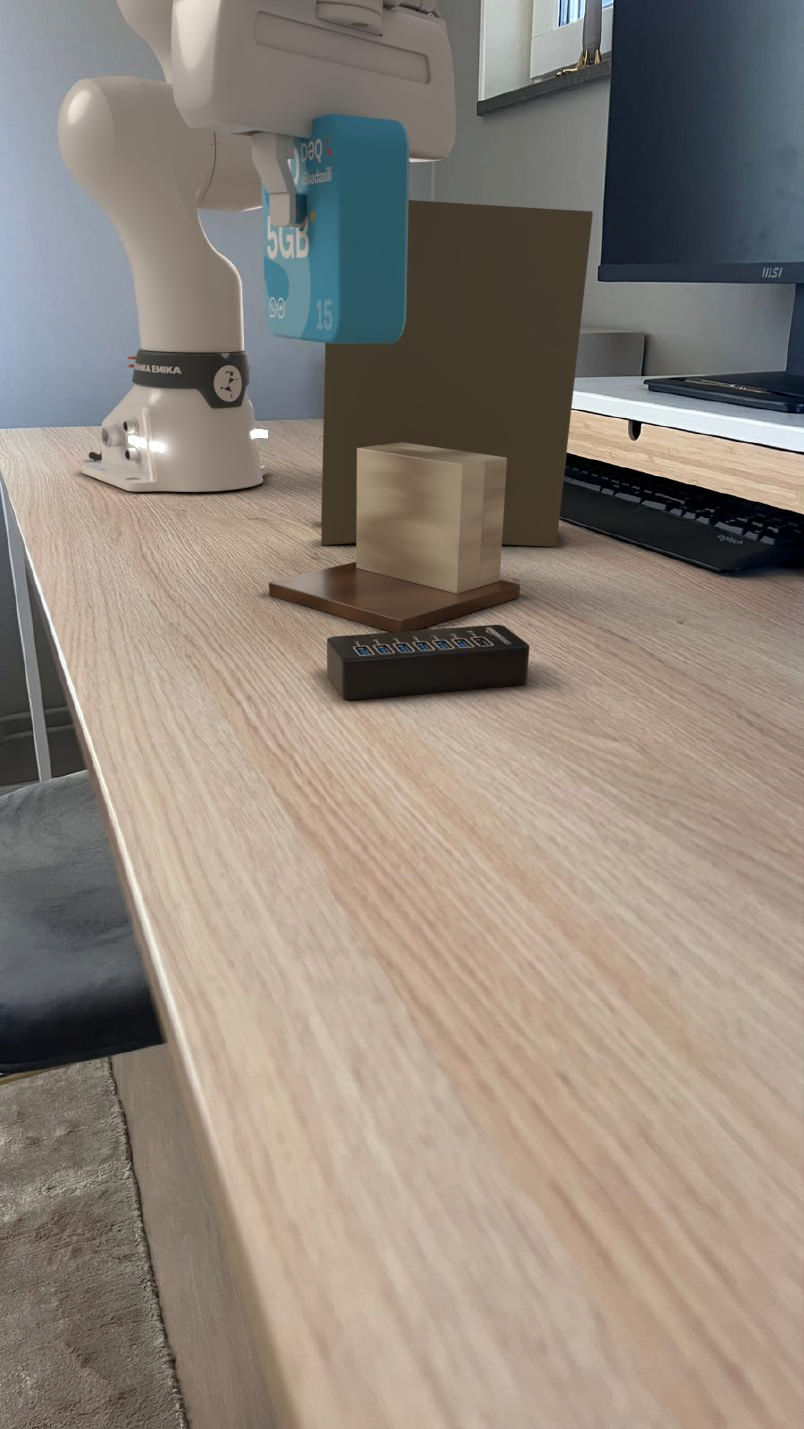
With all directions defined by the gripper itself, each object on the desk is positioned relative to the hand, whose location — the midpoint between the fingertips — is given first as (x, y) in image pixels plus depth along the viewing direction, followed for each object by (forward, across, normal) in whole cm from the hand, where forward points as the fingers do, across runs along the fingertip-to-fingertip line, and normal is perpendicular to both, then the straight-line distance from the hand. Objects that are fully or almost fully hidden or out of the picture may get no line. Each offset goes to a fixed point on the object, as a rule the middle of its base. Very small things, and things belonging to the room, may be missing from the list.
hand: (329, 230), depth 64 cm
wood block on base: (+24, -5, +2) cm, 25 cm away
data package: (+7, 0, 0) cm, 7 cm away
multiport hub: (+24, +6, +15) cm, 29 cm away
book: (+24, -24, -10) cm, 35 cm away
